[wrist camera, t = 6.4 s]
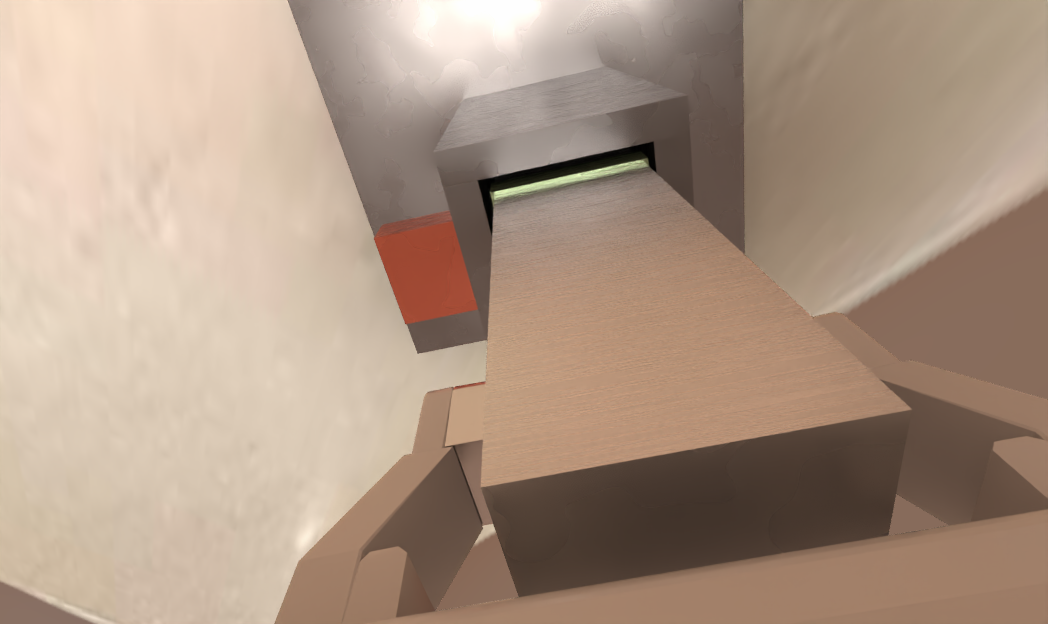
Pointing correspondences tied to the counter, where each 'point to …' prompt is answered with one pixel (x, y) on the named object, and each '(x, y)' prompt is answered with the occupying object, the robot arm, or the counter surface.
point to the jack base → (517, 120)
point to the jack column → (662, 391)
